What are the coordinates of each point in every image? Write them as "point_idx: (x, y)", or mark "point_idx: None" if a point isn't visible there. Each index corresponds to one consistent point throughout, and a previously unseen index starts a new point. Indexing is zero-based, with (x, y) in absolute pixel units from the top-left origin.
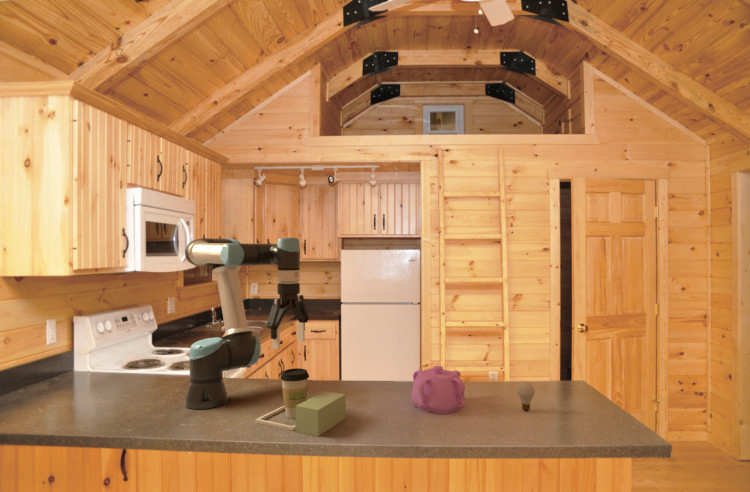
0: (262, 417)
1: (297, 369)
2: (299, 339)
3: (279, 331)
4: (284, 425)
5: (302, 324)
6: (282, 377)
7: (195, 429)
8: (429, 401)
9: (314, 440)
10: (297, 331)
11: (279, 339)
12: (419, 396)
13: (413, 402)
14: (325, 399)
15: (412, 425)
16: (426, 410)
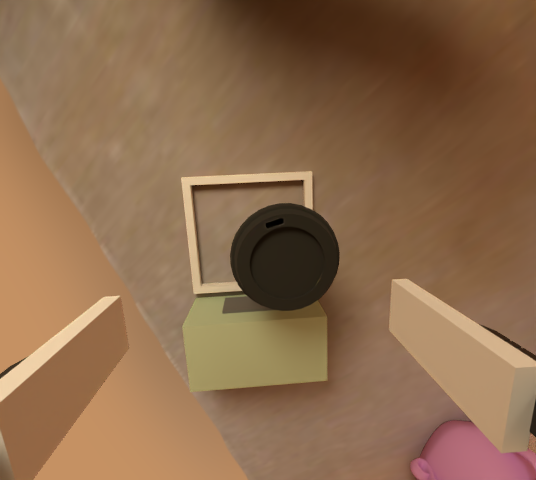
0: (203, 183)
1: (322, 249)
2: (396, 306)
3: (39, 466)
4: (193, 269)
5: (488, 428)
6: (237, 239)
7: (60, 65)
8: None
9: (182, 357)
10: (436, 316)
11: (91, 396)
12: (441, 470)
13: (441, 433)
14: (266, 361)
15: (339, 463)
16: (420, 456)
